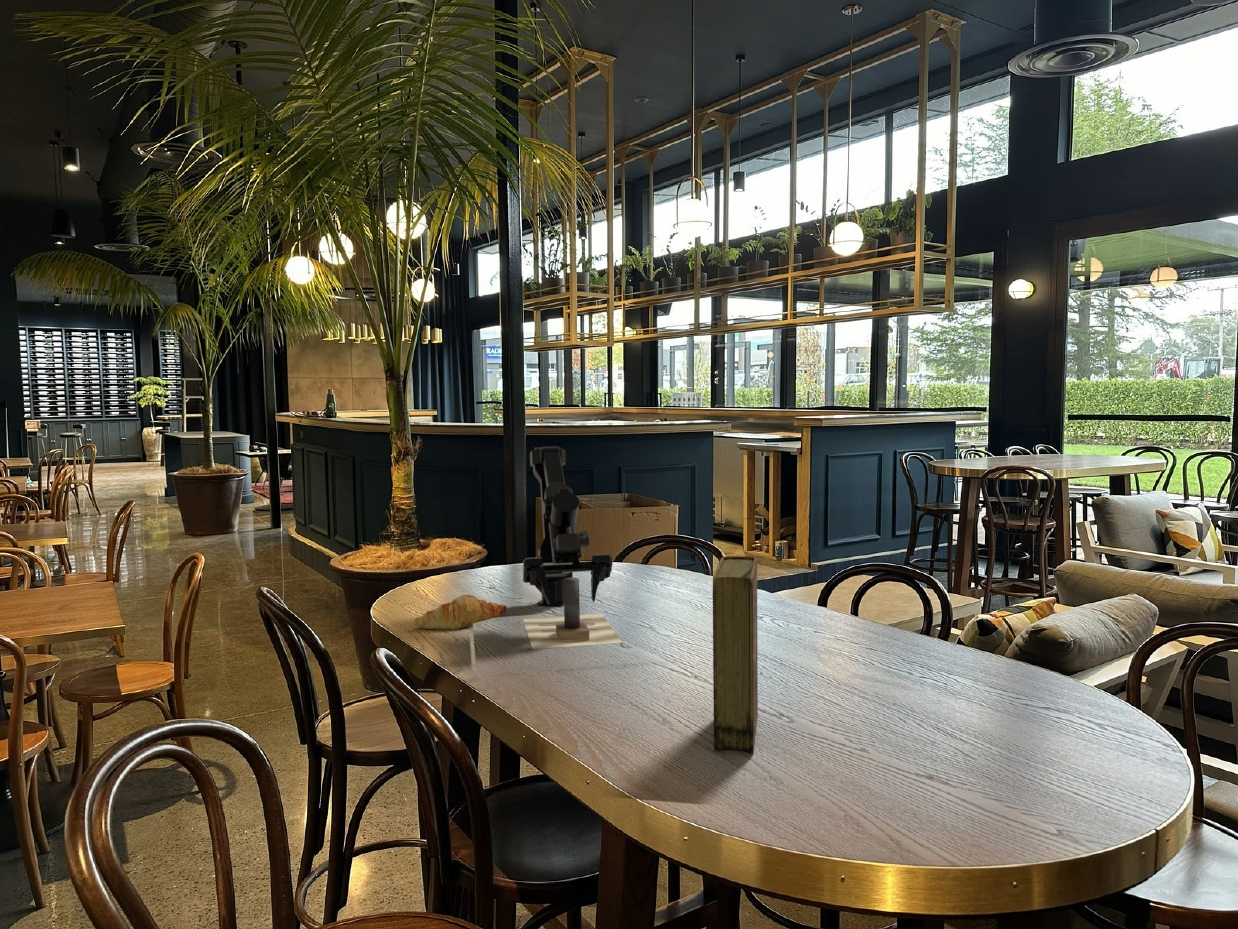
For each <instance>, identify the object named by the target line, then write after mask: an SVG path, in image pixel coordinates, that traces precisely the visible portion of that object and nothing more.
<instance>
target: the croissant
mask: <svg viewBox="0 0 1238 929" xmlns="http://www.w3.org/2000/svg"><path fill="white" fill-rule="evenodd" d="M507 607H508V606H506V604H498V603H497V602H491V601H489V602H487V601H486V600H484V599H478V598H477V597H476V596H474V595H470V594H462V595H460V596H459V597H456V598H454V599H453V600H452V601H451V602H445V603H441V604H440V605H439V606H438V607H436V608H435V609H431V610H429V611H426V612H425V613H423V614H422V616H420V617H416V618H414V621H413V622H414V623H413V624H414V626H415V627H418V628H421V629H427V630H459V629H463V628H464V627H465V628H471V627H470V626H473V627H474V624H473V623H478V622H479V623H480V622H482V621H486V620H490V619H493V618H500V617H501V616H502V615H504V613H506V611H507Z"/></svg>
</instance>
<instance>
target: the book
mask: <svg viewBox="0 0 1238 929" xmlns="http://www.w3.org/2000/svg"><path fill="white" fill-rule="evenodd" d="M712 575H713V576H712V654H713V655H712V659H713V660H712V666H713V667H712V672H713V673H712V674H713V675H712V676H713V679H712V680H713V683H712V684H713V692H712V694H713V750H714V751H720V750H730V749H731V750H739V751H744V752H748V753H752V754H754V753H755V743H756V737H757V725H758V717H759V716H758V714H759V709H758V706H759V705H758V704H759V703H758V701H759V700H758V699H759V698H758V696H759V694H758V693H759V692H758V690H759V689H758V683H759V682H758V680H759V679H758V678H759V677H758V676H759V675H758V668H759V667H758V660H759V659H758V557H754V556H747V555H746V556H745V555H731V556H730V555H728V556H722V557H721V558H720V559H719V562H718V565H717V566H716V569H715V571H714V574H712ZM755 736H756V737H755Z"/></svg>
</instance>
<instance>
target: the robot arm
mask: <svg viewBox="0 0 1238 929" xmlns="http://www.w3.org/2000/svg"><path fill="white" fill-rule="evenodd" d="M529 461H530V462H529V465H530V467H532V472H533V473H532V474H533V475H534V477H535V478H536V479H537V481H538V483H539V485H540V486H539V487H540V500H541V501H540V502H541V517H542V518H541V519H542V533H543V535H542V536H543V540H542V542H541V545H540V546H539V548H538V550H537V555H536V556H535V557H526V558H524V559H523V561H522V581H523V582H524V583H526V584H529V585H530V586H534V587H535V588H536V590H538V591H539V592H540V594H541V599H540V600H539V601H537V603H536V605H537V604H540V605H539V606H550V605H553V606H554V607H562V606H564V605H563V604H564V581H563V579H565V578H574V577H573V575H574V574H573V573H582V572H584V573H585V572H590V574H591V575H590V576H591V577H590V593H591V596H590V597H591V601H592V602H593V603H595V601H596V595H597V590H598V587H599V585H600V583H601V582H604V581H605V580H606V579H608V578H610V577H611V572H612V569H613V564H614V563H613V557H612V556H611V555H610V554H609V553H601V554H600V553H597V554H596V553H595V554H592V556H591V561H581V558H582V554H583V553H582V550H581V549H582V548H588V547H589V546H590V536H589V531H588V530H582V531H581V530H580V531H579V533H577V532H576V524H577V522H578V513H579V512H580V510H582V503H581V502H580V498H578V496H577V495H576V494H574V493H573V489H572V488H571V487H569V486H568V485H566V480H565V476H564V470H563V466H565V465H566V450H565V448H564V449H563V448H562V447H559V446H543V447H534V449H533V450H531V451H530V452H529Z"/></svg>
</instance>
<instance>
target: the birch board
mask: <svg viewBox="0 0 1238 929" xmlns="http://www.w3.org/2000/svg"><path fill="white" fill-rule="evenodd" d="M522 622H523V624H524V628H525V630H526V634H527V636H528V640H529V643H530V645H531V649H532V650H541V649H542V650H543V649H555V648H556V649H559V648H570V647H572V648H573V647H584V646H585V647H588V646H598V645H614V644H623V642H622V641H621V639H620V638H619V636H618V635H617V633H616V632H615V631H614V629H613V628H612V627H611V625H610V624H609V622H608V621H607V619H606V618H605V617H604V615H603V614H602V613H589V614H580V622H584V623H585V624H586V626H587V628H588V629H589V640H583V641H569V642H560V641H559V639H558V636H557V634H556V624H557V623H564V615H562V616H561V615H560V616H559V615H557V616H545V617H544V616H543V617H530V618H522Z"/></svg>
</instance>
